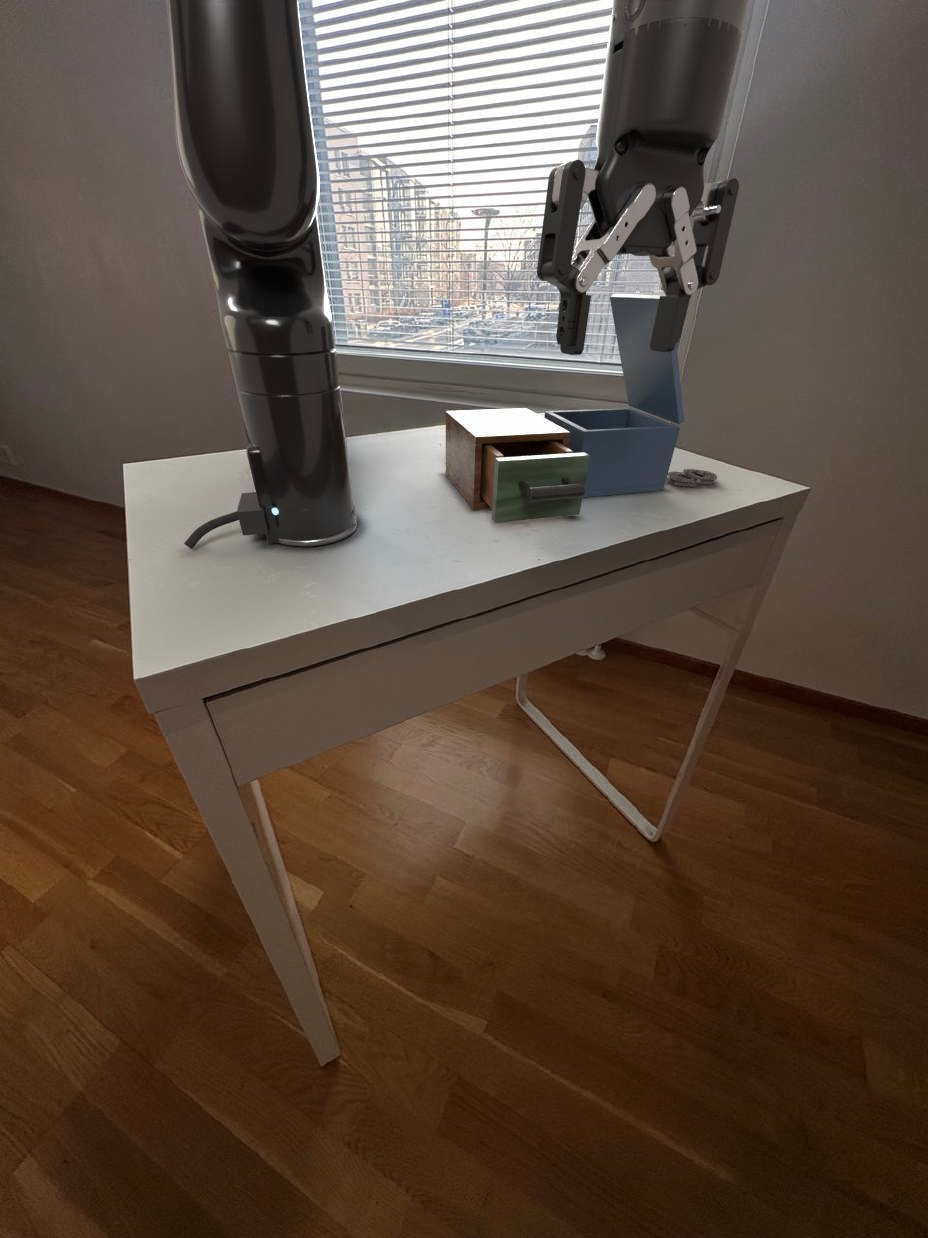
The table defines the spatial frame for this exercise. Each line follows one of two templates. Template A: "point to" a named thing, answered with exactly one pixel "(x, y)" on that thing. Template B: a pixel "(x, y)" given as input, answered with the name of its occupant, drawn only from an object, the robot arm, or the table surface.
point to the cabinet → (484, 428)
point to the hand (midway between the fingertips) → (617, 352)
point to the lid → (646, 358)
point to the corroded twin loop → (691, 477)
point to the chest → (620, 448)
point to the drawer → (532, 480)
